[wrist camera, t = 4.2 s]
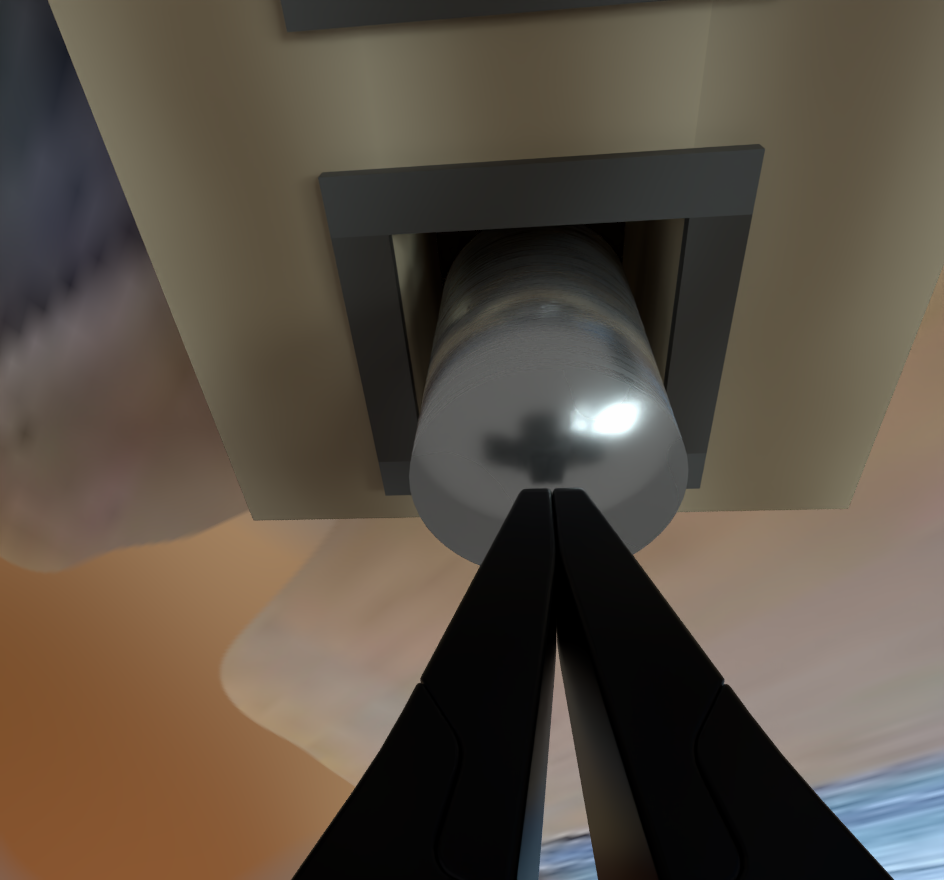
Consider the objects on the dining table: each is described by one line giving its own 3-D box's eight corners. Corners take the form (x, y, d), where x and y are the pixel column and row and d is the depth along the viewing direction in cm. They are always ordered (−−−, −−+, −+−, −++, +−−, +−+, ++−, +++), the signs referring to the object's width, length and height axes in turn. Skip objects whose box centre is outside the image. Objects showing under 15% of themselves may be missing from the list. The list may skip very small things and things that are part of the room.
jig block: (1048, -811, 8) (1827, -1893, 3) (765, 369, 19) (853, 517, 14) (39, -633, 10) (-472, -1250, 5) (312, 386, 21) (249, 529, 16)
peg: (636, 208, 13) (708, 363, 8) (621, 381, 15) (671, 576, 10) (432, 219, 13) (389, 375, 8) (450, 387, 15) (426, 579, 11)
